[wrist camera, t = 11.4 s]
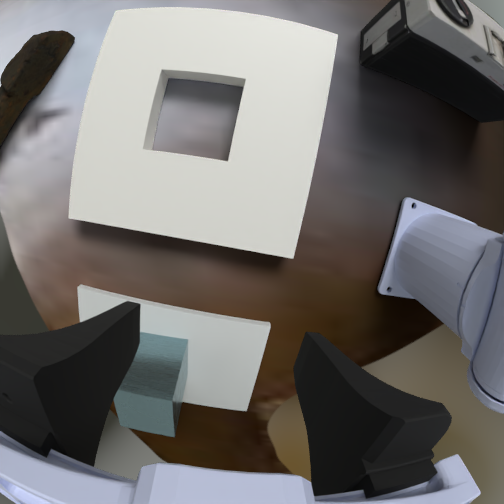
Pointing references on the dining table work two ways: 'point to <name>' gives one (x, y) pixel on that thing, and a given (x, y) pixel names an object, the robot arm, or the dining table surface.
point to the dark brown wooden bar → (30, 74)
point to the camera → (441, 52)
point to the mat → (198, 346)
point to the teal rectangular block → (154, 385)
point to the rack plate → (199, 168)
